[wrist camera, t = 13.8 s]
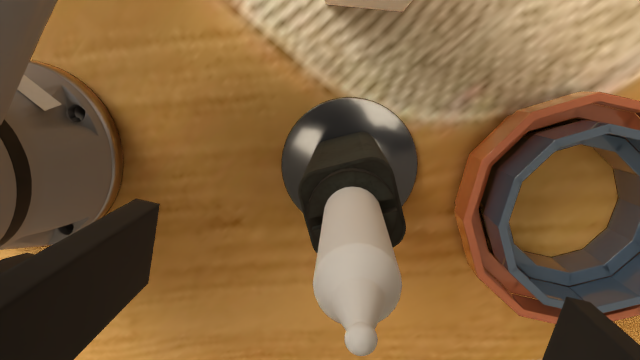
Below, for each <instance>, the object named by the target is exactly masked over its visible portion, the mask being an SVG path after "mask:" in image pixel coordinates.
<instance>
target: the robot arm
mask: <svg viewBox="0 0 640 360" xmlns="http://www.w3.org/2000/svg"><path fill="white" fill-rule="evenodd" d="M56 2H57V0H0V250H2V249H14V248H26V247H38V246H46V245H51V246H50V247H48V248H46V249H44V250H42V251H41V252H39V253H37V254H35V255H34V254H30V253H25V254H21V255H17V256H13V257H9V258H6V259H2V260H0V360H74V359H75V358H76V356H77V355H78V354H79V353H80V352H81V351H82V350H83V349H84V348H85V347H86V346H87V345H88V344H89V343H90V342H91V341H92V340H93V339H94V338H95V337H96V336H97V335H98V334H99V333H100V332H101V331H102V330H103V329H104V328H105V327H106V326H107V325H108V324H109V323H110V322H111V321H112V320H113V319H114V318H115V316H116V315H117V314H118V313H119V312H120V311H121V310H122V309H123V308H124V307H125V306H126V305H127V304H128V303H129V302H130V301H131V300H132V299H133V298H134V297H135V296H136V295H137V294H138V293H139V292H140V291H141V290H142V289H143V288H144V287H145V286H146V285H147V284H148V281H149V274H150V268H151V261H152V254H153V247H154V240H155V233H156V226H157V219H158V212H159V205H160V204H157V203H153V202H149V201H144V200H140V199H134V200H133V201H131V202H129V203H127V204H125V205H124V206H122V207H120V208H118V209H116V210H115V211H113V212H111V213H109V214H107V215H106V216H104V215H105V214H106V213H107V212H108V210H109V209H110V207H111V206H112V204H113V202H114V200H115V199H116V196H117V194H118V191H119V188H120V185H121V181H122V175H123V152H122V146H121V141H120V137H119V134H118V131H117V128H116V126H115V124H114V121H113V119H112V117H111V116H110V114H109V112H108V110H107V109H106V107H105V106H104V104H103V103H102V102H101V101H100V99H99V98H98V97H97V96H96V95H95V94H94V93H93V91H92V90H91V89H89V88H88V87H87V86H86V85H85V84H84V83H83V82H81V81H80V80H79V79H77V78H76V77H74V76H73V75H71V74H69V73H68V72H66V71H64V70H62V69H59V68H57V67H54V66H52V65H48V64H45V63H41V62H35V61H30V59H31V57H32V54H33V52H34V50H35V47H36V45H37V43H38V41H39V39H40V36H41V34H42V32H43V30H44V28H45V26H46V24H47V22H48V19H49V17H50V15H51V13H52V11H53V9H54V7H55V4H56ZM103 216H104V217H103ZM52 244H53V245H52ZM542 360H640V345H639V344H638V343H637V342H635V341H634V340H633V339H632V338H631V337H630V336H629V335H627V334H626V333H625V332H624V331H623V330H622V329H621V328H619V327H618V326H617V325H616V324H615V323H614V322H613V321H611V320H610V319H609V318H608V317H607V316H606V315H605V314H603V313H602V312H601V311H600V310H599V309H598V308H597V307H595V306H594V305H593V304H592V303H591V302H588V301H584V300H580V299H575V298H571V297H566V299H565V302H564V304H563V307H562V309H561V312H560V315H559V317H558V320H557V323H556V325H555V328H554V330H553V333H552V336H551V338H550V341H549V344H548V346H547V349H546V351H545V354H544V357H543V359H542Z"/></svg>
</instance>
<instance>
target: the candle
mask: <svg viewBox="0 0 640 360" xmlns="http://www.w3.org/2000/svg"><path fill="white" fill-rule="evenodd" d="M298 196H299V200H300V204H301V207H302V211H303V214H304V218H305V221H306V225H307V229H308V232H309V236H310V239H311V243H312V246H313V248H314V250H315V251H316V253H317V259H316V266H315V272H314V279H313V288H314V295H315V297H316V300H317V302H318V304H319V306H320V308H321V309H322V310H323V311H324V313H325V314H326V315H327V316H329V317H330V318H331V319H333V320H334V321H336V322H338V323H341V324H342V325H343V327H344V328H345V330H346V333H345V345H346V347H347V348H348V350H349V351H350V352H351V353H353V354H355V355H358V356H365V355H368V354H370V353H372V352H373V351H374V349H375V347H376V345H377V341H378V340H377V334H376V332H375V328H376V325H377V323H378V322H380V321H381V320H383V319H385V318H386V317H388V315H389V314H390V313H391V312H392V311H393V310H394V309H395V307H396V305H397V303H398V301H399V299H400V294H401V289H402V281H401V274H400V270H399V267H398V264H397V260H396V257H395V254H394V251H393V247H394V246H396V245H397V244H399V243H400V241H401V240H402V239H403V237H404V235H405V231H406V224H405V219H404V215H403V211H402V206H401V202H400V198H399V194H398V190H397V185H396V181H395V177H394V173H393V171H392V168H391V166H390V165H389V163H388V161H387V160H386V158H385V156H384V154H383V153H382V151H381V149H380V148H379V146H378V144H377V143H376V141H375V139H374V138H373V136H371V135H370V134H369V133H366V132H357V133H353V134H349V135H345V136H341V137H337V138H333V139H329V140H326V141H323V142H321V143H319V144H318V145H317V147H316V148H315V150H314V152H313V155H312V157H311V159H310V161H309V164H308V166H307V168H306V170H305V173H304V175H303V177H302V179H301V181H300V184H299V187H298Z"/></svg>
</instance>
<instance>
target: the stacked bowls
mask: <svg viewBox="0 0 640 360" xmlns="http://www.w3.org/2000/svg"><path fill="white" fill-rule="evenodd" d="M597 104H598V105H597ZM601 105H602V106H601ZM606 106H607V107H606ZM610 107H611V108H610ZM619 109H620V110H619ZM623 110H624V111H623ZM628 111H629V112H628ZM632 112H633V113H632ZM635 113H636V114H637V115H638V116H639V117H640V101H637V100H633V99H628V98H624V97H620V96H615V95H611V94H606V93H602V92H581V91H580V92H576V93H573V94H569V95H566V96H563V97H559V98H556V99H553V100H549V101H546V102H543V103H539V104H536V105H533V106H529V107H526V108H523V109H519V110H517V111H516V112H515V113H514V114H512V115H508V116H507V117H506V118H505V119H504V120H503V121H502V122H501V123H500V124H499V125H498V126H497V127H496V128H495V129H494V130H493V131H492V132H491V133H490V134H489V135H488V136H487V137H486V138H485V139H484V140H483V141H482V142H481V143H480V144H479V145H478V146H477V147H476V148H475V149H474V150H473V151H472V152H471V153H470V154H469V157H468V160H467V163H466V166H465V170H464V173H463V176H462V180H461V183H460V186H459V190H458V193H457V196H456V200H455V206H456V207H455V210H454V213H455V217H456V220H457V224H458V228H459V232H460V236H461V239H462V243H463V247H464V251H465V255H466V258H467V262H468V264H469V266H470V267H471V269H472V270H473V272H474V273H475V274H476V276H477V277H478V278H479V279H480V280H481V281H482V282H483V283H484V284H485V285H487V286H488V287H489V288H490V289H491V290H492V291H493V292H494V293H495V294H496V295H497V296H498V297H500V298H501V299H502V300H503V301H504V302H505V303H506V304H507V305H508V306H509V307H510V308H511V309H513V310H514V311H515V312H516V313H517V314H518V315H519V316H522V317H527V318H531V319H535V320H540V321H544V322H548V323H553V324H556V323H557V320H558V317H559V315H560V312H561V309H562V307H563V304H564V302H565V299H566V297H571V298H575V299H580V300H584V301H588V302H591V303H592V304H593V305H594V306H595V307H597V308H598V309H599V310H600V311H601V312H602V313H603V314H605V315H606V316H607V317H608V318H609V319H610V320H611V321H616V320H620V319H624V318H629V317H633V316H637V315H640V118H639V117H638V116H637V115H636V114H635ZM573 118H575V119H580V120H581V121H578V122H574V123H571V124H567V125H558V126H555V127H551V128H548V129H544V130H541V131H538V132H534V133H531V134H527V135H525V134H526V133H527V132H528V131H532V130H535V129H539V128H542V127H545V126H549V125H552V124H556V123H559V122H563V121H566V120H569V119H573ZM608 134H609V135H608ZM579 144H582V145H586V146H590V147H593V148H594V149H595V150H596V151H597V152H598V153H599V154H600V155H601V156H602V157H603V158H604V160H605V161H606V162H607V163H608V164H609V165H610V166H611V167H612V168H613V170H614V175H615V181H616V186H617V192H618V197H619V198H618V201H617V204H616V206H615V209H614V211H613V214H612V217H611V219H610V222H609V224H608V227H607V228H606V229H605V230H604V231H603V232H602V233H600V234H599V235H598V236H597V237H596V238H595V239H593V240H592V241H591V242H590V243H589V244H588V245H587V246H585V247H584V248H583V249H582V250H578V251H574V252H570V253H566V254H563V255H559V256H555V257H547V256H543V255H538V254H534V253H530V252H525V251H522V250H521V249H520V248H518V247H517V246H516V245H515V244H514V241H513V237H512V233H511V229H510V225H509V220H510V217H511V214H512V211H513V208H514V205H515V202H516V199H517V196H518V193H519V190H520V187H521V184H522V182H523V181H524V180H525V179H526V178H527V177H528V176H529V175H530V174H531V173H532V172H533V171H535V170H536V169H537V168H538V167H539V166H540V165H541V164H542V163H543V162H544V161H545V160H546V159H547V158H548V157H550V156H551V155H552V154H553V153H554V152H555V151H558V150H562V149H565V148H569V147H572V146H576V145H579ZM479 206H480V208H481V212H482V216H483V220H484V224H485V228H486V232H487V236H488V238H489V239H490V242H491V246H492V250H493V253H492V252H491V251H490V250H488V247H487V243H486V239H485V235H484V231H483V227H482V223H481V219H480V215H479V211H478V209H479ZM484 268H485V269H486V270H487V271H486V270H485V269H484ZM519 268H520V269H521V270H520V269H519ZM498 281H499V282H500V283H501V284H500V283H499V282H498ZM511 293H514V294H511ZM515 294H518V295H515ZM519 295H522V296H519ZM524 296H527V297H524ZM528 297H531V298H528ZM532 298H535V299H532ZM537 299H538V300H537Z"/></svg>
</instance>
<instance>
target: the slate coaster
mask: <svg viewBox="0 0 640 360" xmlns="http://www.w3.org/2000/svg"><path fill="white" fill-rule="evenodd" d="M357 132H366V133H369V134H370V135H371V136H373V138H374V139H375V141H376V143H377V144H378V146H379V148H380V149H381V151H382V153H383V154H384V156H385V158H386V160H387V161H388V163H389V165H390V166H391V168H392V171H393V173H394V177H395V181H396V185H397V190H398V194H399V198H400V202H401V206H403V205H404V203H405V202H406V200H407V199H408V197H409V195H410V193H411V191H412V189H413V186H414V183H415V180H416V175H417V165H418V163H417V153H416V148H415V144H414V141H413V139H412V136H411V134H410V132H409V131H408V129H407V128H406V126H405V125H404V123H403V122H402V121H401V120H400V119H399V118H398V117H397V116H396V115H395V114H394V113H393V112H392V111H390V110H389V109H387V108H386V107H384V106H383V105H381V104H378V103H376V102H374V101H371V100H367V99H363V98H357V97H343V98H336V99H332V100H328V101H326V102H323V103H321V104H319V105H317V106H315V107H314V108H312V109H311V110H309V111H308V112H307V113H305V114H304V115H303V116H302V117H301V118H300V119H299V120H298V121H297V123H296V124H295V125H294V126H293V128H292V130H291V131H290V133H289V135H288V137H287V139H286V142H285V145H284V149H283V153H282V176H283V180H284V184H285V187H286V189H287V192H288V194H289V196H290V197H291V199H292V201H293V202H294V203H295V205H296V206H297V207H298V208H299V209H300V210H301V212H302V213H303V211H302V207H301V204H300V200H299V196H298V187H299V184H300V181H301V179H302V177H303V175H304V173H305V170H306V168H307V166H308V164H309V161H310V159H311V157H312V155H313V152H314V150H315V148H316V147H317V145H318V144H319V143H321V142H323V141H326V140H329V139H333V138H337V137H341V136H345V135H349V134H353V133H357Z"/></svg>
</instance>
